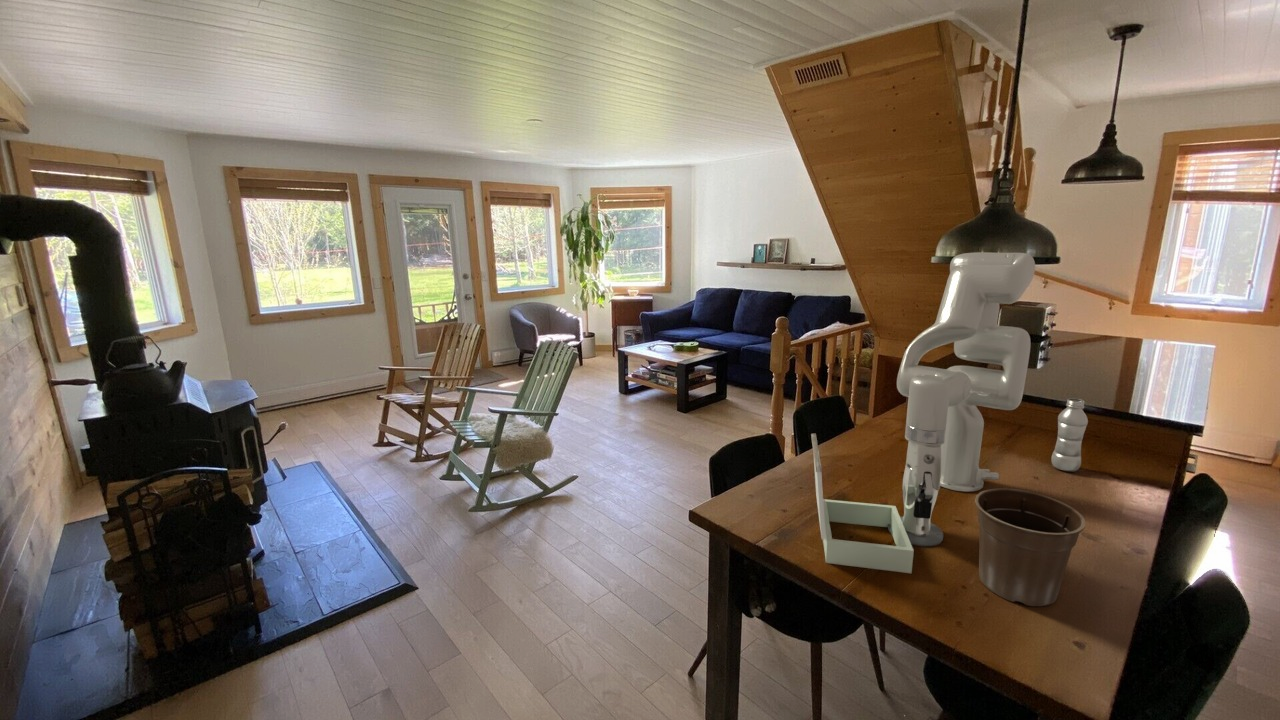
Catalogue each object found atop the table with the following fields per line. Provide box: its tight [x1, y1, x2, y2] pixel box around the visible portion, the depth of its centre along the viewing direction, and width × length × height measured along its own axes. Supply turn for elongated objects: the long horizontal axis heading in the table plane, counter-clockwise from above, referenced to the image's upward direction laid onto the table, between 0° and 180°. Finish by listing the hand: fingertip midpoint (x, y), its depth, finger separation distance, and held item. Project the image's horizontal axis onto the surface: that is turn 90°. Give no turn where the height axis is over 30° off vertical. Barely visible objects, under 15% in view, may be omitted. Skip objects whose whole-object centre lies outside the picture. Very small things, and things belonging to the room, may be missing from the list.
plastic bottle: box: [1051, 397, 1089, 472], centre depth 145 cm, size 6×7×20 cm
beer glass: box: [902, 462, 939, 536], centre depth 117 cm, size 7×7×15 cm
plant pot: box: [974, 488, 1086, 607], centre depth 98 cm, size 16×16×16 cm
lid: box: [810, 433, 826, 541], centre depth 115 cm, size 16×18×1 cm
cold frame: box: [822, 498, 915, 574], centre depth 115 cm, size 16×18×5 cm
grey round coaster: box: [887, 516, 944, 547], centre depth 119 cm, size 11×11×1 cm
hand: (917, 508), depth 117 cm, fingers open, 7 cm apart
